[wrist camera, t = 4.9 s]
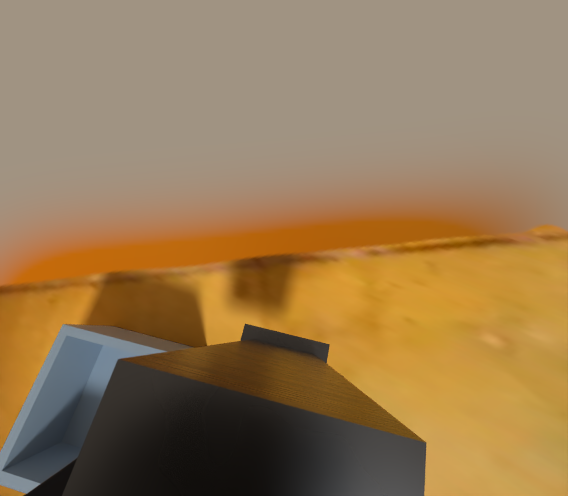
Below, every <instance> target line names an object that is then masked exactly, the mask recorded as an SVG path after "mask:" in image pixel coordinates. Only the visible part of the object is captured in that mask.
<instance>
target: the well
mask: <svg viewBox="0 0 568 496" xmlns="http://www.w3.org/2000/svg"><path fill="white" fill-rule="evenodd" d="M189 348H195V347H191V346H187V345H184V344H180V343H176V342H172V341H168V340H164V339H160V338H157V337H153V336H149V335H145V334H141V333H137V332H133V331H130V330H126V329H122V328H118V327H114V326H98V325H71V324H63V325H62V327H61V329H60V331H59V334H58V336H57V338H56V340H55V342H54V344H53V346H52V348H51V350H50V352H49V354H48V356H47V358H46V360H45V362H44V364H43V366H42V368H41V370H40V372H39V374H38V376H37V378H36V380H35V382H34V384H33V387H32V389H31V391H30V393H29V395H28V397H27V399H26V401H25V403H24V405H23V407H22V409H21V411H20V413H19V415H18V417H17V419H16V421H15V423H14V425H13V427H12V429H11V431H10V433H9V435H8V437H7V440H6V442H5V444H4V446H3V448H2V450H1V452H0V485H2V486H5V487H8V488H11V489H14V490H17V491H20V492H23V493H26V494H27V493H28V492H30V491H31V490H33V489H34V488H35V487H37V486H38V485H40V484H41V483H42V482H44V481H45V480H47V479H48V478H50V477H51V476H52V475H54V474H55V473H57V472H58V471H60V470H61V469H62V468H64V467H65V466H66V465H68V464H69V463H71V462H72V461H73V460H75V459H76V458H77V457H78V455H79V453H80V451H81V448H82V446H83V443H84V441H85V438H86V436H87V433H88V431H89V429H90V426H91V424H92V421H93V419H94V416H95V414H96V411H97V409H98V407H99V404H100V402H101V399H102V397H103V394H104V392H105V389H106V387H107V385H108V382H109V380H110V377H111V375H112V372H113V370H114V367H115V365H116V363H117V360H118V359H121V358H128V357H135V356H142V355H149V354H155V353H162V352H169V351H176V350H183V349H189Z"/></svg>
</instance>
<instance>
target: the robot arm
mask: <svg viewBox="0 0 568 496" xmlns="http://www.w3.org/2000/svg"><path fill="white" fill-rule="evenodd" d="M343 377H344V376H343ZM77 458H78V457H77ZM77 458H76V459H75V460H73V461H72V462H71V463H69V464H68V465H66V466H65V467H64V468H62V469H61V470H60V471H58V472H57V473H55V474H54V475H52V476H51V477H50V478H48V479H47V480H45V481H44V482H42V483H41V484H40V485H38V486H37V487H35V488H34V489H33V490H31V491H30V492H28V493H27V494H25V495H24V496H62V495H63V492H64V490H65V487H66V485H67V482H68V480H69V477H70V475H71V473H72V470H73V468H74V465H75V463H76V460H77Z"/></svg>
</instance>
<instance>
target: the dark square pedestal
mask: <svg viewBox="0 0 568 496" xmlns="http://www.w3.org/2000/svg"><path fill="white" fill-rule="evenodd" d="M329 345H330V344H326V343H322V342H318V341H313V340H309V339H305V338H301V337H297V336H293V335H289V334H285V333H281V332H277V331H273V330H269V329H264V328H260V327H256V326H252V325H248V324H245V326H244V330H243V333H242V337H241V341H237V342H230V343H223V344H216V345H210V346H203V347H196V348H189V349H183V350H176V351H169V352H162V353H155V354H149V355H142V356H135V357H128V358H121V359H118V360H117V363H116V365H115V367H114V370H113V372H112V375H111V377H110V380H109V382H108V385H107V387H106V389H105V392H104V394H103V397H102V399H101V402H100V404H99V407H98V409H97V411H96V414H95V416H94V419H93V421H92V424H91V426H90V429H89V431H88V433H87V436H86V438H85V441H84V443H83V446H82V448H81V451H80V453H79V455H78V458H77V460H76V463H75V465H74V468H73V470H72V473H71V475H70V477H69V480H68V482H67V485H66V487H65V490H64V492H63V495H62V496H424V486H425V461H426V442H425V441H423V440H422V439H421V438H420V437H418V436H417V435H416V434H415V433H413V432H412V431H411V430H410V429H408V428H407V427H406V426H405V425H403V424H402V423H401V422H400V421H398V420H397V419H396V418H394V417H393V416H392V415H391V414H389V413H388V412H387V411H386V410H384V409H383V408H382V407H381V406H379V405H378V404H377V403H376V402H374V401H373V400H372V399H371V398H369V397H368V396H367V395H366V394H364V393H363V392H362V391H360V390H359V389H358V388H357V387H355V386H354V385H353V384H352V383H350V382H349V381H348V380H347V379H345V378H344V377H343V376H342V375H340V374H339V373H338V372H337V371H335V370H334V369H333V368H332V367H330V366H329V365H328V364H326V363H327V357H328V351H329Z"/></svg>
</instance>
